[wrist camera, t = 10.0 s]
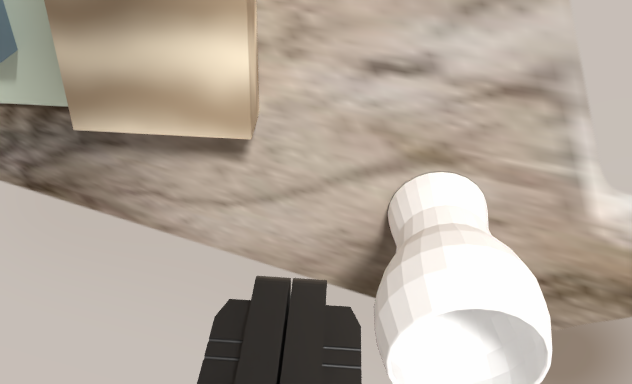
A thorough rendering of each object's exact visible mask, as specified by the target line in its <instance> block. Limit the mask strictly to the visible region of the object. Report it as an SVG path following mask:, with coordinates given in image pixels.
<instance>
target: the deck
mask: <svg viewBox="0 0 632 384" xmlns="http://www.w3.org/2000/svg"><path fill="white" fill-rule="evenodd" d="M44 2H45V7H46V11H47V15H48V20H49V24H50V29H51V33H52V37H53V42H54V46H55V51H56V55H57V59H58V64H59V68H60V73H61V77H62V81H63V86H64V90H65V95H66V99H67V103H68V108H69V112H70V117H71V121H72V125H73V130H82V131H100V132H119V133H138V134H157V135H176V136H194V137H213V138H232V139H252V135H253V132H254V129H255V125H256V122H257V118H258V115H259V86H258V46H257V6H256V0H44Z"/></svg>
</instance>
